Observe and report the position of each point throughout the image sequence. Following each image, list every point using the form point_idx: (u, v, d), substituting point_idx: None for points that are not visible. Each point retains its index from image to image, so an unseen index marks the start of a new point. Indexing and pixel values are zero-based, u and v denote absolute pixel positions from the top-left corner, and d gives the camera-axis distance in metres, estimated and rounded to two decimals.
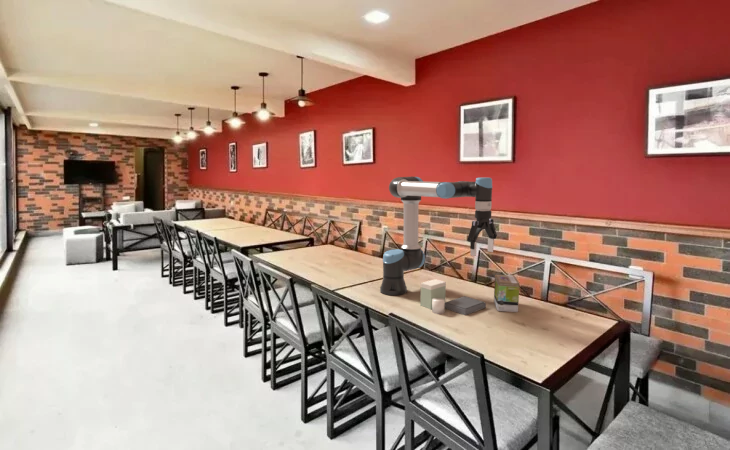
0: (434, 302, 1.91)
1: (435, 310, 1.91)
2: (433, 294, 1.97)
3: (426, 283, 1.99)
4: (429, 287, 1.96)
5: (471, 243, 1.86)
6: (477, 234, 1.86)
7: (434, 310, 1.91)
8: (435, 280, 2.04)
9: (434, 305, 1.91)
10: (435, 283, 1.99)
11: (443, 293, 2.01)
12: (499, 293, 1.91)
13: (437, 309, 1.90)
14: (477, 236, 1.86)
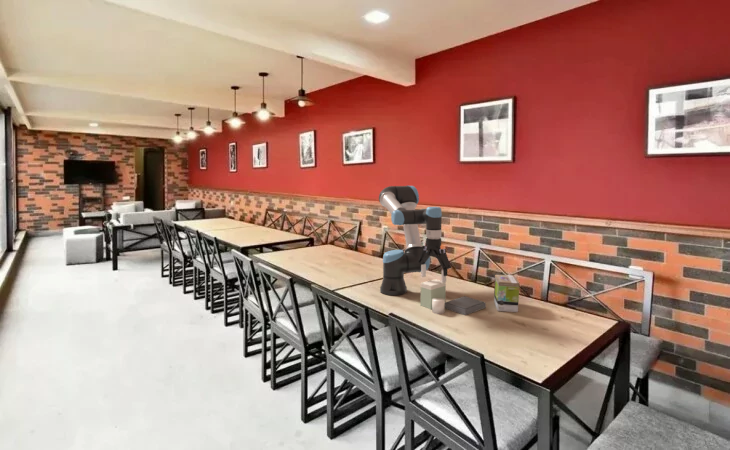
0: (434, 302, 1.91)
1: (435, 310, 1.91)
2: (433, 294, 1.97)
3: (426, 283, 1.99)
4: (429, 287, 1.96)
5: None
6: (423, 258, 2.03)
7: (434, 310, 1.91)
8: (435, 280, 2.04)
9: (434, 305, 1.91)
10: (435, 283, 1.99)
11: (443, 293, 2.01)
12: (499, 293, 1.91)
13: (437, 309, 1.90)
14: (423, 260, 2.03)
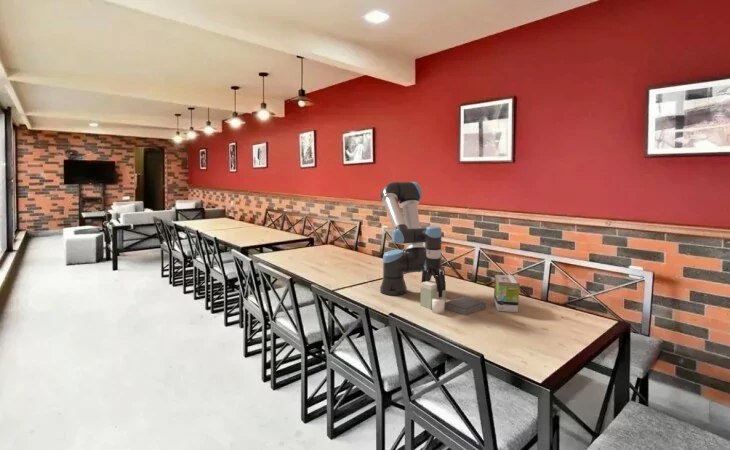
0: (434, 302, 1.91)
1: (435, 310, 1.91)
2: (433, 294, 1.97)
3: (426, 283, 1.99)
4: (429, 287, 1.96)
5: None
6: (426, 279, 2.03)
7: (434, 310, 1.91)
8: None
9: (434, 305, 1.91)
10: (435, 283, 1.99)
11: (443, 293, 2.01)
12: (499, 293, 1.91)
13: (437, 309, 1.90)
14: None
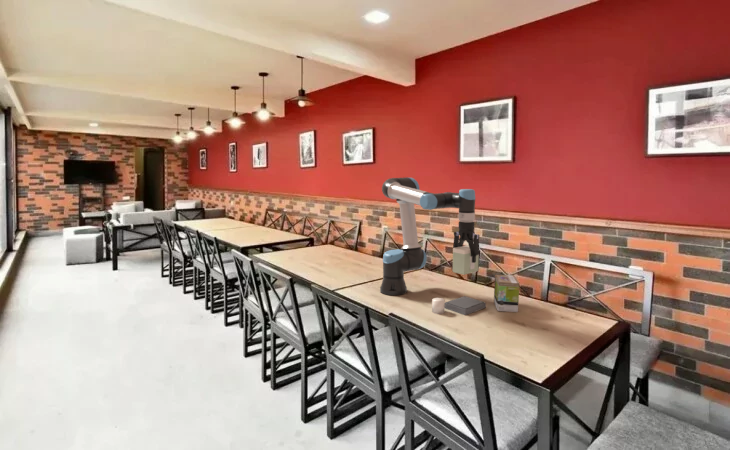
0: (434, 302, 1.91)
1: (435, 310, 1.91)
2: (467, 259, 1.89)
3: (459, 248, 1.92)
4: (462, 251, 1.88)
5: None
6: (458, 245, 1.96)
7: (434, 310, 1.91)
8: (467, 246, 1.97)
9: (434, 305, 1.91)
10: (468, 248, 1.92)
11: (476, 259, 1.94)
12: (499, 293, 1.91)
13: (437, 309, 1.90)
14: None
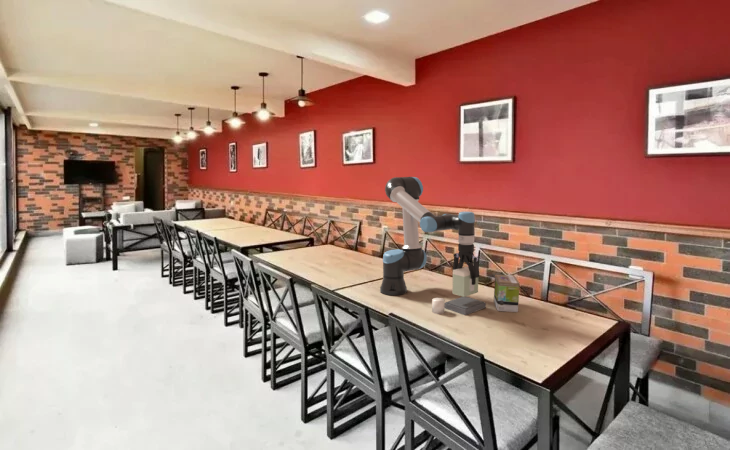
0: (434, 302, 1.91)
1: (435, 310, 1.91)
2: (466, 281, 1.91)
3: (459, 270, 1.93)
4: (462, 274, 1.90)
5: None
6: (458, 266, 1.97)
7: (434, 310, 1.91)
8: (467, 267, 1.98)
9: (434, 305, 1.91)
10: (468, 270, 1.93)
11: (476, 280, 1.95)
12: (499, 293, 1.91)
13: (437, 309, 1.90)
14: (458, 268, 1.97)
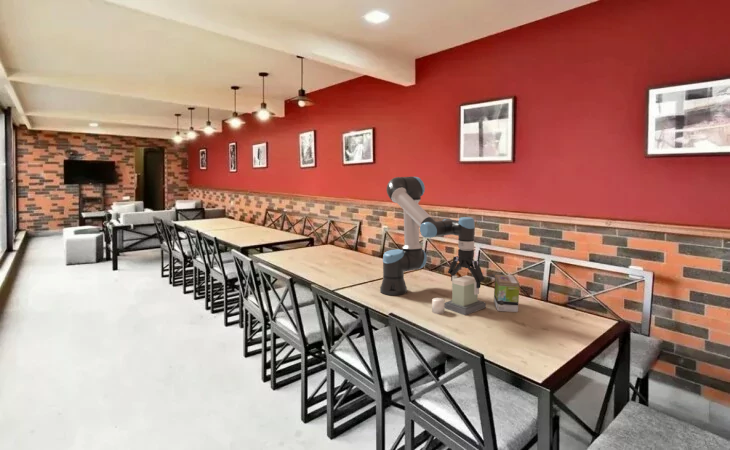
0: (434, 302, 1.91)
1: (435, 310, 1.91)
2: (466, 291, 1.92)
3: (458, 279, 1.94)
4: (462, 283, 1.91)
5: None
6: (454, 269, 1.99)
7: (434, 310, 1.91)
8: (467, 276, 1.99)
9: (434, 305, 1.91)
10: (467, 279, 1.94)
11: None
12: (499, 293, 1.91)
13: (437, 309, 1.90)
14: (454, 271, 1.99)
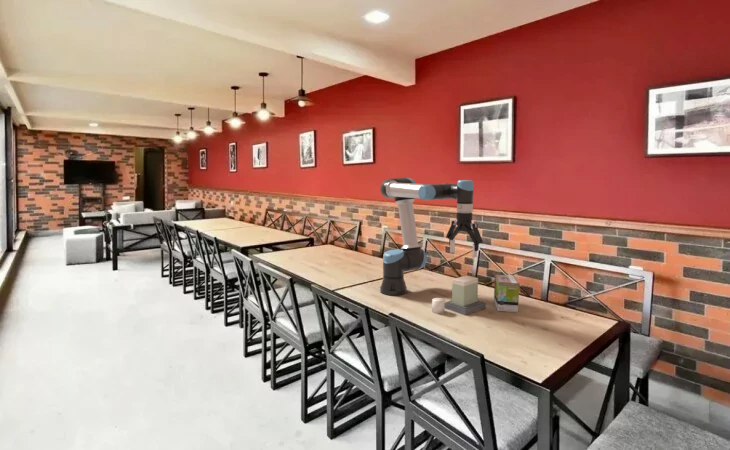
0: (434, 302, 1.91)
1: (435, 310, 1.91)
2: (466, 291, 1.92)
3: (458, 279, 1.94)
4: (462, 283, 1.91)
5: None
6: (453, 233, 1.98)
7: (434, 310, 1.91)
8: (467, 276, 1.99)
9: (434, 305, 1.91)
10: (467, 279, 1.94)
11: (475, 290, 1.96)
12: (499, 293, 1.91)
13: (437, 309, 1.90)
14: (453, 235, 1.98)
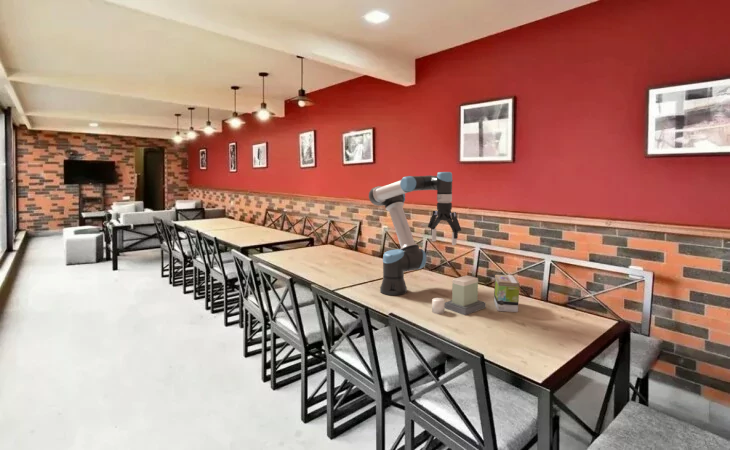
0: (434, 302, 1.91)
1: (435, 310, 1.91)
2: (466, 291, 1.92)
3: (458, 279, 1.94)
4: (462, 283, 1.91)
5: None
6: (434, 222, 2.08)
7: (434, 310, 1.91)
8: (467, 276, 1.99)
9: (434, 305, 1.91)
10: (467, 279, 1.94)
11: (475, 290, 1.96)
12: (499, 293, 1.91)
13: (437, 309, 1.90)
14: (434, 224, 2.08)
